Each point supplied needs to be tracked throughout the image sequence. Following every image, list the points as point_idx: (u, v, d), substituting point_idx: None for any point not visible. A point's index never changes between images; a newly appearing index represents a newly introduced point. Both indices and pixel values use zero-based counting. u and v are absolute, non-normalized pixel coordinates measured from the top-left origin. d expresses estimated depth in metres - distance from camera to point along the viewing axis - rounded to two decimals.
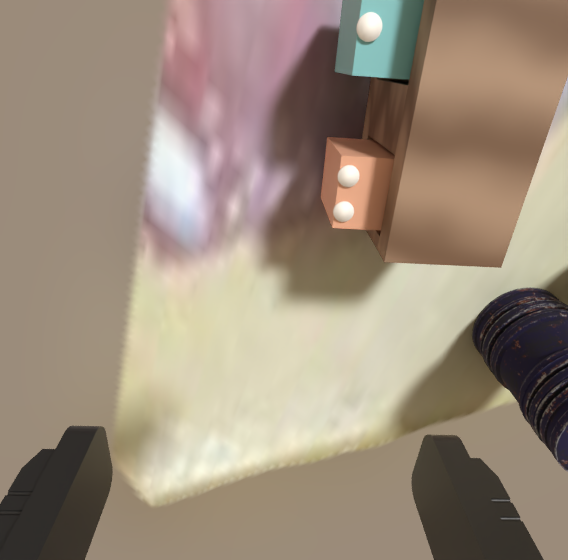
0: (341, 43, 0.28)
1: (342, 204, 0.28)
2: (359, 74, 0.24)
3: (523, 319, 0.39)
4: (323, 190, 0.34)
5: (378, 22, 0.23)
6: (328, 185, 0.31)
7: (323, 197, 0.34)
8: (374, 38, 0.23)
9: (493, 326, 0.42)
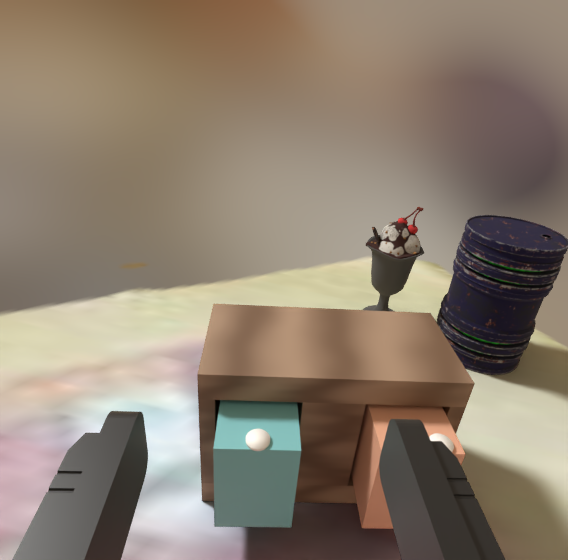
0: (264, 510, 0.26)
1: None
2: (299, 444, 0.24)
3: (465, 330, 0.45)
4: None
5: (254, 431, 0.24)
6: None
7: None
8: (267, 433, 0.24)
9: (485, 352, 0.44)
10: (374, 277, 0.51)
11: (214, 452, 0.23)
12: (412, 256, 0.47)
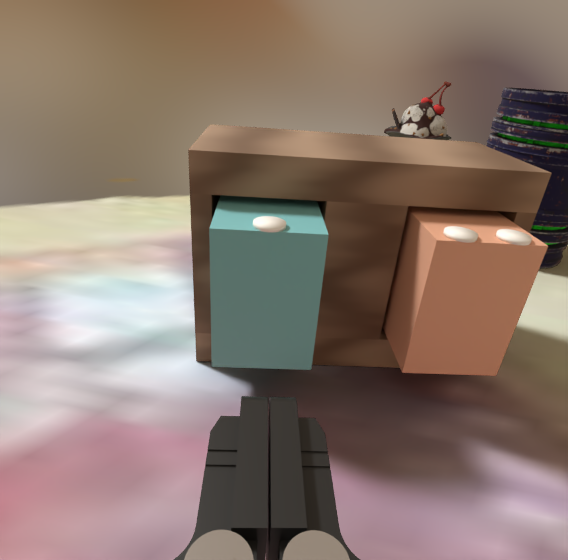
0: (277, 340, 0.20)
1: (504, 236, 0.18)
2: (325, 230, 0.18)
3: None
4: (485, 356, 0.21)
5: (264, 217, 0.18)
6: (478, 319, 0.19)
7: (497, 351, 0.20)
8: (281, 219, 0.18)
9: None
10: None
11: (210, 235, 0.17)
12: (439, 137, 0.41)
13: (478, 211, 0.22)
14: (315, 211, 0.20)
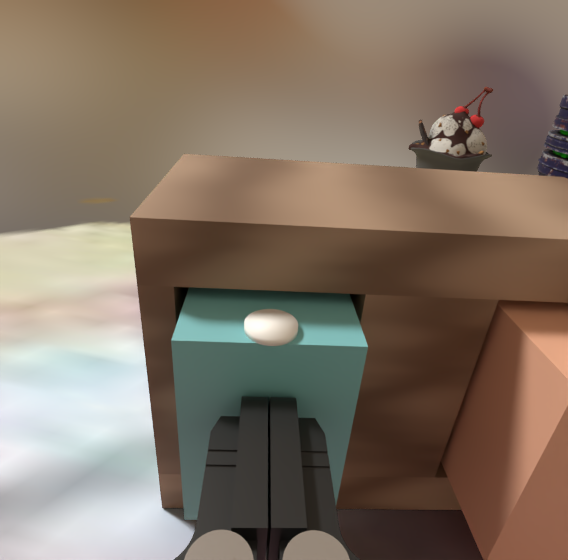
0: None
1: None
2: (361, 336, 0.11)
3: None
4: None
5: (262, 313, 0.11)
6: None
7: None
8: (289, 316, 0.11)
9: None
10: None
11: (174, 350, 0.10)
12: (479, 155, 0.33)
13: None
14: None
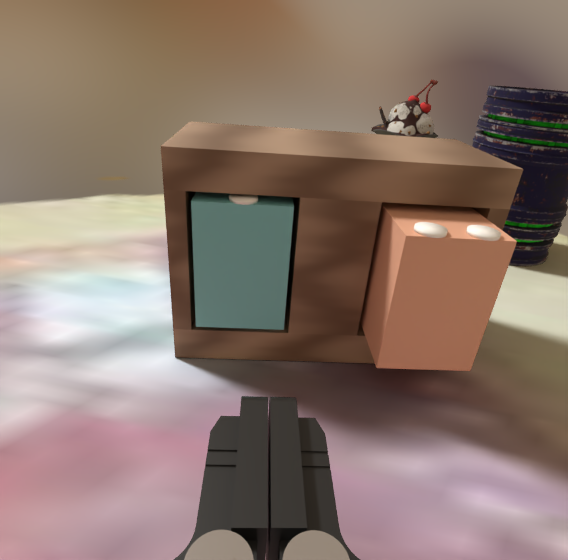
0: (253, 302, 0.22)
1: (473, 231, 0.18)
2: (291, 203, 0.20)
3: None
4: (459, 352, 0.21)
5: None
6: (450, 314, 0.20)
7: (470, 346, 0.21)
8: None
9: (511, 236, 0.38)
10: None
11: (192, 207, 0.20)
12: (425, 135, 0.41)
13: (453, 207, 0.22)
14: None
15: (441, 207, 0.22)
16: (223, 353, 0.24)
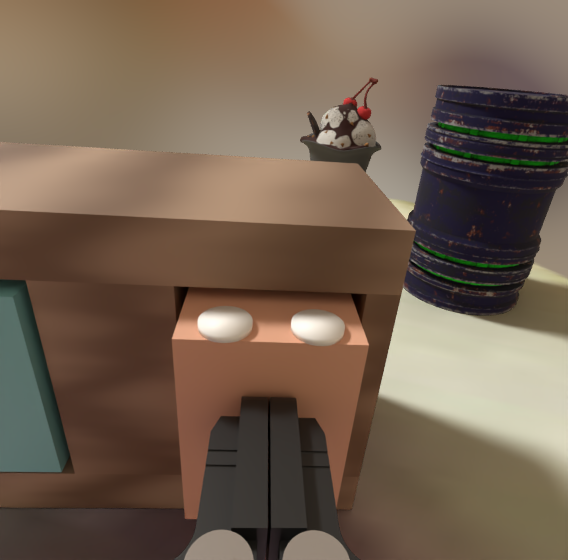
0: None
1: (297, 326, 0.11)
2: (18, 289, 0.12)
3: (437, 248, 0.30)
4: None
5: None
6: None
7: None
8: None
9: (467, 279, 0.30)
10: None
11: None
12: (362, 147, 0.33)
13: None
14: None
15: None
16: None
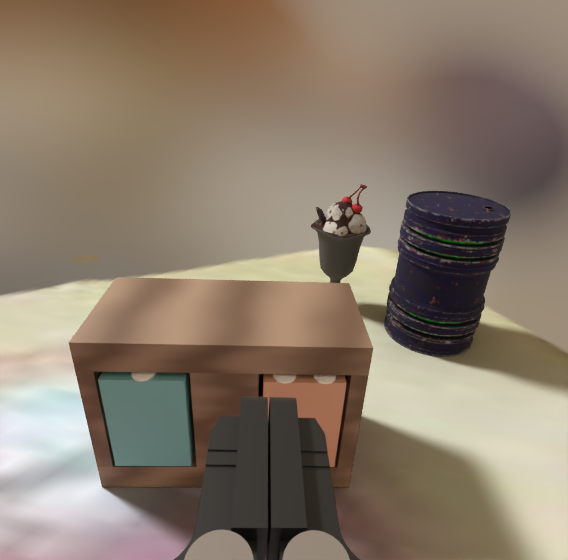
0: (161, 447, 0.26)
1: (316, 375, 0.25)
2: (184, 376, 0.24)
3: (410, 310, 0.43)
4: None
5: None
6: None
7: (329, 450, 0.27)
8: None
9: (431, 332, 0.42)
10: (321, 260, 0.49)
11: (99, 383, 0.24)
12: (356, 235, 0.45)
13: None
14: None
15: None
16: (143, 483, 0.28)
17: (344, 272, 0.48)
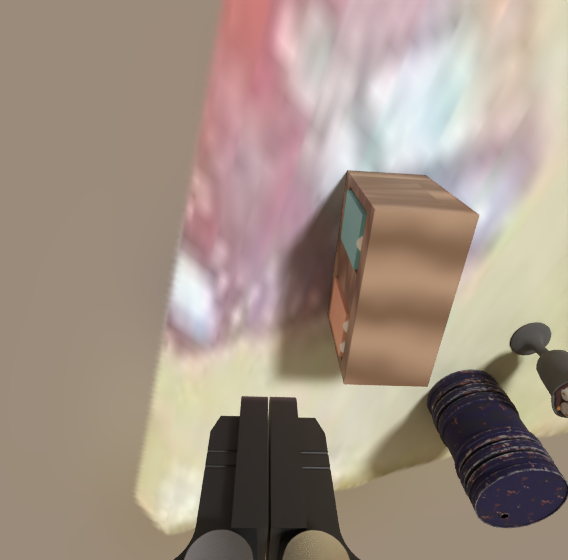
0: (345, 226, 0.40)
1: None
2: None
3: (461, 400, 0.51)
4: (331, 314, 0.45)
5: None
6: (335, 318, 0.43)
7: (331, 320, 0.45)
8: None
9: (440, 402, 0.53)
10: (560, 356, 0.46)
11: (361, 214, 0.34)
12: (553, 404, 0.43)
13: None
14: None
15: None
16: (344, 199, 0.42)
17: (537, 369, 0.48)
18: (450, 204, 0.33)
